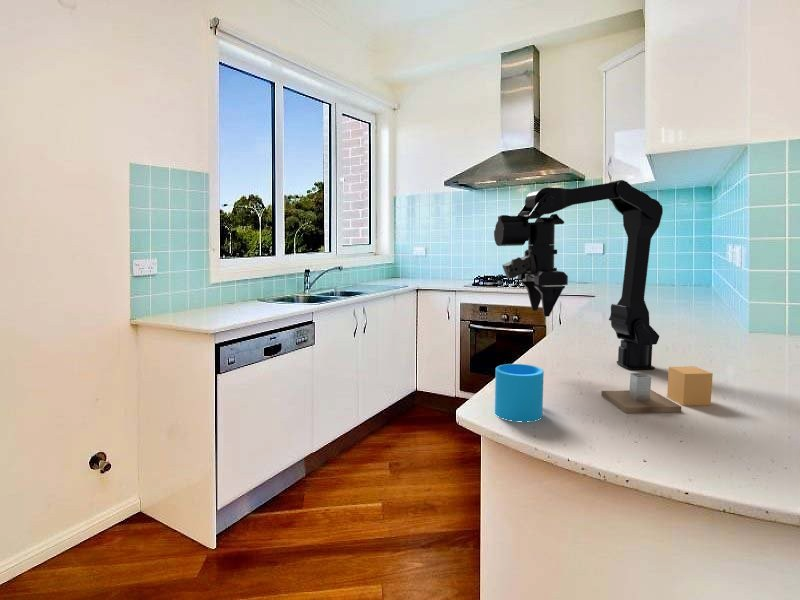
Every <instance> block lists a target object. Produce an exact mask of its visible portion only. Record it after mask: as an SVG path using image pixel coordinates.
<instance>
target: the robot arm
mask: <svg viewBox="0 0 800 600" xmlns="http://www.w3.org/2000/svg"><path fill="white" fill-rule="evenodd" d="M603 200H604V201H605V200H609V201H610V202H611V203H612V205H613V206H614V209H615V210H616V211H617V212H618V213H620V214H621V215H622V224H623V228H624V231H625V234H626V236H627V243H626V244H627V246H626V255H625V263H624V271H623V279H622V280H623V282H622V291H621V298H620V299H619V301H618V302H617V304H616V303H612V304H610V316H609V318H608V321H610V324H611V325H610V326H611V328H612V329H613V331H615V334H616V337H617V339H619V340H620V346H618V350H617V351H618V353H617V356H618V357H617V361H616V364H618V365H619V366H621V367H623V368H624V369H627V370H656V366H654V365H652V358H653V357H652V356H653V345H657V344H658V341H659V340H660V335H659V334H658V332H657V331H656V330H655V329H654V328H653V327H652V326H651V325H650V311H649V309H648V307H647V304H646V301H645V293H646V286H647V278H648V277H647V276H648V268H649V259H650V251H651V250H650V249H651V244H652V243H651V241H652V238H653V236H654V235H655V234H656V232H657V230H658V229H659V227H660V224H661V220H662V216H663V213H664V212H663V211H664V209H663V208H664V207H663V205H662V204H661V203H660V201H659V200H657V199H655V198H652V197H651V196H650V195H648V194H647V193H645V192H643V191H642V190H639V189H637V188H635V187H634V186H632V185H631V184H630V183H629V182H628V181H626V180H625V179H624V180H623V179H619V180H615V181H610V182H607V183H601V184H596V185H595V184H594V185H586V186H582V187H576V188H564V187H550V186H549V187H544V188H539V189H535V190H531V191H530V192H528V194H527V195H526V197H525V200H524V205H523V206H522V208H520V211H518V213H517V215H508V214H507V215H506V214H501V215H498V216H497V221H496V224H495V227H494V230H493V237H494V238H493V239H494V243H495V245H496V246H497V247H511V246H512V247H513V246H515V247H516V246H518V247H519V246H522V247H523V246H524V245H525V244H526V242H528V243H527V245H528V247H527V248H528V249H525V250H524V256H523V257H522V256H521V257H520V256H518V257H516V258H513V259H512V258H511V261H508V262H506V263H504V264H501V265H502V268H503V273H504V274H505V277H506V278H507V279H510V280H511V279H514V278H517V279H518V280H519V283H520V284H521V285H523V286H524V287H525V288H526V291H527V294H528V299H529V302H530V307H531V310H532V311H533V312H536V311H538V309H539V307H540V303H541V305H542V307H541V308H542V313H543V317H547V318H548V317H550V315H551V314H552V312H553V310H554V308H555V305H556V303H557V302H558V299H559V297H560V295H561V294H562V292H563V291H564V289H566V286H567V285H568V281H569V276H568V275H567V274H566V273H565V272H564V271H561V270H558V268H557V267H555V255H558V249H555V236H556V235H555V232H556V230H555V229H556V228H555V225H564V224H565V221H564V220H563V219H562V218H561V217H560V216H559V215H558V213H557V212H560V211H561V210H564V209H566V208H569V207H571V206H574V205H579V204H586V203H592V202H597V201H603ZM549 214H551V215H550V216H549V217H548V216H547V217H545V216H544V215H549ZM542 216H543V217H542ZM534 219H535V220H534ZM529 220H534V221H533V222H532V221H531V222H529Z"/></svg>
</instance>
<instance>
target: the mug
mask: <svg viewBox="0 0 800 600" xmlns="http://www.w3.org/2000/svg"><path fill="white" fill-rule="evenodd" d="M544 372H545V371H544V370H543V368H541V367H539V366H535V365H531V364H524V363H507V364H500V365H498V366H496V367H495V377H494V378H495V385H494V387H495V388H494V390H495V391H494V415H495V414H496V415H497V416H499V417H501V418H504V419H507V420H512V421H522V422H527V421H535V420H538V419H540V418H541V419H542V418H543V404H544V402H543V400H544ZM496 415H495V416H496ZM497 416H496V417H497ZM541 419H540V420H541ZM538 421H539V420H538ZM535 422H536V421H535Z"/></svg>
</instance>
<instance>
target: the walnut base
mask: <svg viewBox="0 0 800 600" xmlns="http://www.w3.org/2000/svg"><path fill="white" fill-rule="evenodd" d="M629 392H630V389H629V390H628V389H627V390H601V392H600V393H601V397H602V398H604V399H605V400H606V401H608V402H609V403H611V404H612V405H613V406H614V407H617V408H618V409H619V410H620V411H622V412H624V413H625V414H641V413H642V414H643V413H647V414H648V413H649V414H651V413H657V414H658V413H682V405H680V404H679V403H678V404H677V402H675V401H673V400H671V399H670V398H668V397H665V396H663V395H662V394H660V393H658V392H656V391H654V390H652V389H651V391H650V400H644V401H636V400H634V399H633V398H631V397H630V396H629Z"/></svg>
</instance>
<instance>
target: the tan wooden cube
mask: <svg viewBox="0 0 800 600" xmlns="http://www.w3.org/2000/svg"><path fill="white" fill-rule="evenodd" d="M667 374H668V376H667V377H668V378H667V393H666V398H667V399H669V400H671V401H673V402H674V403H676V404H677V403H678V405H680V406H685V407H686V406H711V401H712V386H713V372H710V371H708V370H705V369H702V368H700V367H698V366H668V373H667Z"/></svg>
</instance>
